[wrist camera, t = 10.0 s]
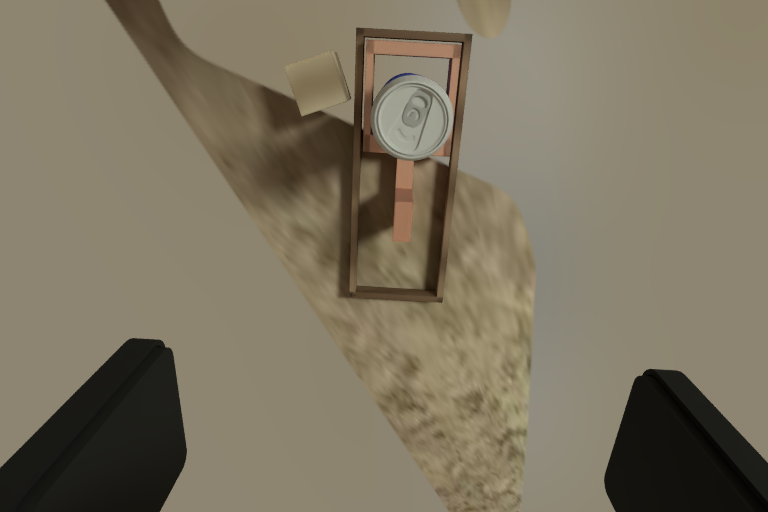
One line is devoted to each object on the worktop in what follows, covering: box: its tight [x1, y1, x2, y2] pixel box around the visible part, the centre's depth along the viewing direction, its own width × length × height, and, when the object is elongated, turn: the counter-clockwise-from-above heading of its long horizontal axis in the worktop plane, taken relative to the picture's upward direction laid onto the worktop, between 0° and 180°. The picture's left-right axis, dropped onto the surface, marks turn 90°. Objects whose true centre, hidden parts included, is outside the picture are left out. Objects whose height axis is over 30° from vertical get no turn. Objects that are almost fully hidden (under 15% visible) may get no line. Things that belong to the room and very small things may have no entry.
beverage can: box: [370, 73, 453, 161], centre depth 35 cm, size 5×5×15 cm
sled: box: [363, 40, 461, 242], centre depth 40 cm, size 16×8×6 cm, turn 177°
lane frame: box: [349, 28, 472, 303], centre depth 43 cm, size 25×10×2 cm, turn 177°
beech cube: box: [284, 51, 351, 116], centre depth 39 cm, size 4×4×4 cm
